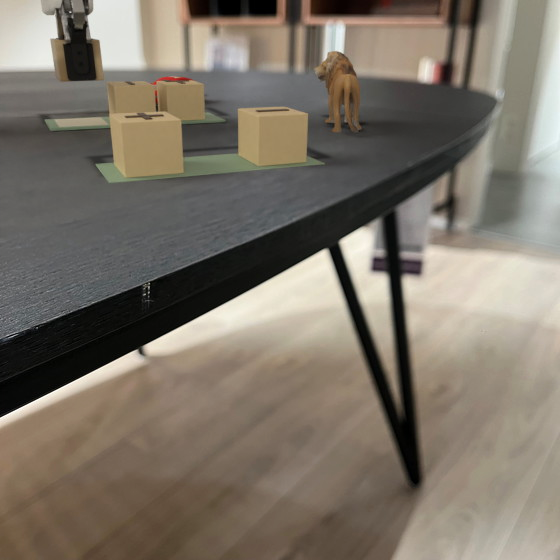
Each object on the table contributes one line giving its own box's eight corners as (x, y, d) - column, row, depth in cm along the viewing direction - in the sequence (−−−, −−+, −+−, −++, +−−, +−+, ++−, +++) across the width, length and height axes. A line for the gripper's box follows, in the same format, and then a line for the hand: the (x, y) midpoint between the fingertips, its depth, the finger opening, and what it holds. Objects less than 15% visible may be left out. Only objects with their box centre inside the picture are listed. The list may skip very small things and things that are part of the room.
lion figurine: (309, 118, 81) (312, 49, 77) (346, 118, 82) (350, 50, 78) (336, 137, 68) (341, 56, 64) (379, 137, 69) (386, 57, 65)
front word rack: (109, 186, 46) (103, 124, 44) (95, 167, 52) (89, 111, 50) (325, 166, 54) (328, 113, 52) (292, 152, 60) (293, 103, 58)
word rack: (50, 131, 67) (44, 87, 65) (44, 121, 73) (39, 81, 71) (225, 122, 76) (224, 83, 74) (208, 114, 82) (207, 78, 80)
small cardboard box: (60, 81, 67) (54, 39, 65) (55, 77, 71) (49, 37, 69) (104, 80, 69) (99, 38, 67) (97, 76, 73) (92, 37, 71)
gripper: (14, -90, 67) (40, 73, 75) (23, -117, 54) (53, 86, 61) (80, -85, 70) (98, 71, 78) (105, -109, 56) (124, 84, 64)
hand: (78, 76), depth 70 cm, fingers closed on small cardboard box, 5 cm apart
